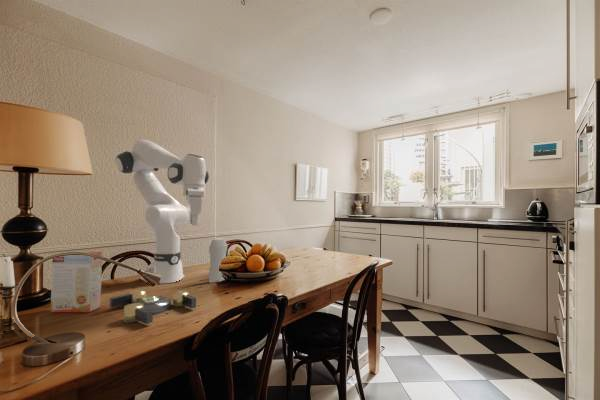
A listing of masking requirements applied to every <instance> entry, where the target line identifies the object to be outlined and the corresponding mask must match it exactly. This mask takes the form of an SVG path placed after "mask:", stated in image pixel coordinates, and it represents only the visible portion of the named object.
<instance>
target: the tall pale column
mask: <svg viewBox="0 0 600 400" xmlns="http://www.w3.org/2000/svg"><path fill="white" fill-rule="evenodd" d="M226 242H227V241H226V238H222V237H221V238H220V237H217V238H213V239H211V243H210V245H209V247H208V248H209V249H208V252H209V254H210V255H209V259H210V261H209V265H210V266H209V271H208V273H209V274H208V278H209V279H208V284H213V283H220V282H223V281H226V280H225V279H224V278H223V277H222V276H221V274H220V273H219V266H220V264H221V261H222V259H224V258H226V259H227V252H228V244H227V243H226Z"/></svg>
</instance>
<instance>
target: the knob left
mask: <svg viewBox="0 0 600 400" xmlns="http://www.w3.org/2000/svg"><path fill="white" fill-rule="evenodd" d="M172 307H175V308H182V307H187V308H189V309H195V308H197V297H195V296H193V295H190V293H189V291H188V290H178V291H175V292H173V293H172Z"/></svg>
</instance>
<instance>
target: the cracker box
mask: <svg viewBox="0 0 600 400" xmlns="http://www.w3.org/2000/svg"><path fill="white" fill-rule="evenodd" d="M62 252H63V251H62ZM62 252H60V253H62ZM86 252H87V253H92V254H95V255H99V256H101V257H102V258H103V251H86ZM58 253H59V252H56V253H53V254H52V256H53V255H54V254H58ZM102 267H103V259H102V260H100V259H97V258H94V257H90V256H84V255H68V256H61V257H56V258H53V257H52V267H51V288H50V289H51V290H50V291H51V292H50V313H91V312H93V311H95V310H97V309H100V308H101V306H102V305H101V302H102V301H101V300H102V299H101V298H102V297H101V296H102Z"/></svg>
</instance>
